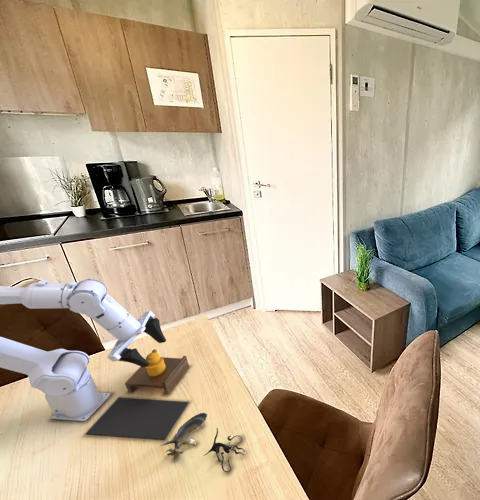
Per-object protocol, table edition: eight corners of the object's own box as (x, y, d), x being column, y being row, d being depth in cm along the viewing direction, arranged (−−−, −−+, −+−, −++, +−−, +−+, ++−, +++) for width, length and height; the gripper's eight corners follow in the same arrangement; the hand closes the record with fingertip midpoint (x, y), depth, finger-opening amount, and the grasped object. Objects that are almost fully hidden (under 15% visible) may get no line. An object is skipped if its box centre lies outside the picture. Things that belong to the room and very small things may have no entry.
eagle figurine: (197, 460, 63) (216, 417, 71) (170, 447, 60) (193, 404, 67) (176, 464, 66) (196, 423, 73) (150, 452, 63) (174, 410, 70)
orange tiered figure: (144, 376, 81) (137, 358, 78) (155, 364, 85) (148, 347, 82) (159, 377, 81) (152, 359, 78) (169, 365, 85) (163, 347, 82)
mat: (86, 434, 69) (85, 433, 69) (119, 398, 78) (118, 397, 78) (164, 440, 68) (164, 439, 68) (188, 402, 77) (188, 401, 77)
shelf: (128, 392, 80) (123, 380, 78) (152, 364, 89) (148, 353, 87) (168, 394, 80) (164, 382, 78) (189, 367, 89) (186, 355, 87)
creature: (250, 440, 69) (217, 434, 69) (252, 426, 67) (218, 420, 67) (237, 476, 62) (201, 470, 62) (239, 462, 60) (201, 456, 60)
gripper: (107, 341, 64) (149, 375, 71) (147, 297, 76) (180, 329, 83) (85, 347, 66) (128, 379, 73) (128, 303, 78) (161, 334, 85)
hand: (155, 353), depth 78 cm, fingers open, 7 cm apart
